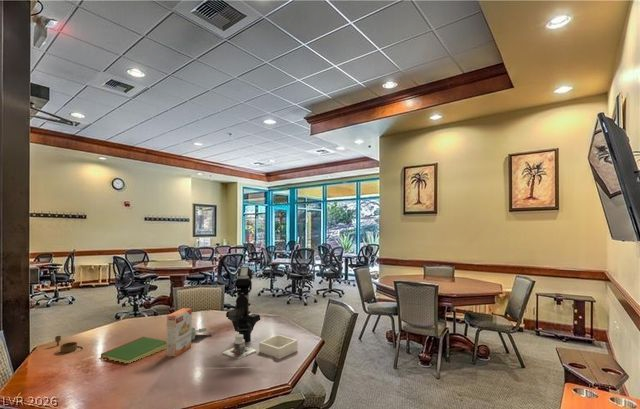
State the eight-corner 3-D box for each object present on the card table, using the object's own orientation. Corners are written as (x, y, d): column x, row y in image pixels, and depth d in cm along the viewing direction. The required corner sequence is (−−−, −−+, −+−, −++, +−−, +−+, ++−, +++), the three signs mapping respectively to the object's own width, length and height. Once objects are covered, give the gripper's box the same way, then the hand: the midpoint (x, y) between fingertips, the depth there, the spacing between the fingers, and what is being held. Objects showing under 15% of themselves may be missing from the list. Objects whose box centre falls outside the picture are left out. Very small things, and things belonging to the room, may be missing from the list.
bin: (259, 353, 175) (259, 342, 175) (277, 344, 187) (277, 334, 187) (279, 360, 167) (279, 348, 167) (297, 350, 178) (297, 340, 178)
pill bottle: (231, 355, 173) (231, 335, 173) (240, 351, 177) (240, 332, 178) (238, 358, 170) (238, 338, 170) (246, 354, 174) (247, 335, 174)
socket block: (222, 355, 172) (222, 352, 172) (240, 348, 182) (240, 344, 182) (238, 362, 165) (238, 358, 165) (256, 353, 175) (256, 350, 175)
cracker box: (176, 358, 170) (176, 316, 170) (165, 357, 171) (165, 315, 171) (192, 347, 183) (192, 308, 184) (182, 346, 184) (182, 307, 185)
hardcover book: (143, 343, 190) (143, 336, 190) (168, 348, 183) (168, 341, 183) (99, 362, 167) (99, 354, 167) (126, 368, 159) (126, 360, 160)
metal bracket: (204, 329, 194) (179, 327, 196) (203, 340, 192) (178, 338, 194) (215, 328, 207) (192, 326, 209) (213, 338, 206) (190, 337, 208)
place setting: (43, 362, 167) (43, 349, 167) (54, 347, 185) (54, 336, 185) (86, 355, 175) (86, 343, 175) (92, 341, 192) (92, 331, 193)
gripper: (217, 303, 172) (217, 334, 172) (245, 308, 163) (245, 341, 162) (234, 298, 182) (233, 327, 181) (260, 303, 172) (260, 334, 172)
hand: (242, 332), depth 174 cm, fingers open, 9 cm apart
